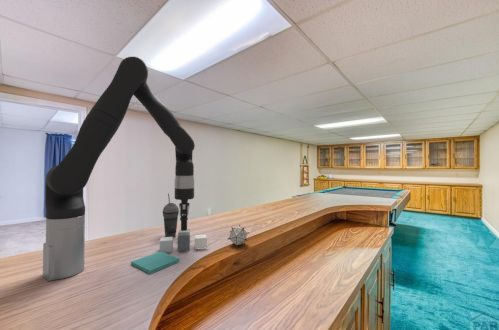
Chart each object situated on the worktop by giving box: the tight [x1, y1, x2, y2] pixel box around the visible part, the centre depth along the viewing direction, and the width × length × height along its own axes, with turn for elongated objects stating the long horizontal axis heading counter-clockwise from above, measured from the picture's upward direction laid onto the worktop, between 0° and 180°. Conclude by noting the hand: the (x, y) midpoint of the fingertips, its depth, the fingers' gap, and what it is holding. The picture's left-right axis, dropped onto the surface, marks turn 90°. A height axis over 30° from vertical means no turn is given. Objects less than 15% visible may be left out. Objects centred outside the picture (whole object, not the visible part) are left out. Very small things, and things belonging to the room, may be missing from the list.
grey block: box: [158, 236, 174, 253], centre depth 86 cm, size 4×4×4 cm
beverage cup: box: [162, 193, 180, 239], centre depth 103 cm, size 7×7×20 cm
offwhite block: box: [194, 234, 208, 250], centre depth 90 cm, size 4×4×4 cm
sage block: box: [178, 228, 191, 233], centre depth 98 cm, size 4×4×4 cm
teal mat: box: [130, 251, 181, 275], centre depth 75 cm, size 11×11×1 cm
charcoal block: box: [177, 231, 191, 252], centre depth 88 cm, size 4×4×6 cm
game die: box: [227, 224, 250, 248], centre depth 93 cm, size 9×8×10 cm
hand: (184, 227), depth 88 cm, fingers open, 8 cm apart
